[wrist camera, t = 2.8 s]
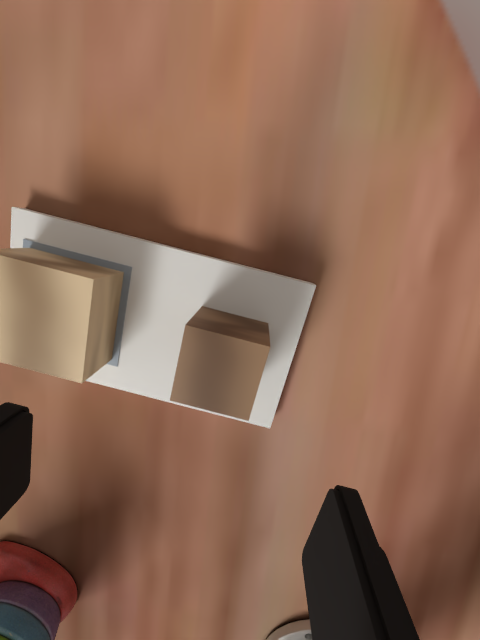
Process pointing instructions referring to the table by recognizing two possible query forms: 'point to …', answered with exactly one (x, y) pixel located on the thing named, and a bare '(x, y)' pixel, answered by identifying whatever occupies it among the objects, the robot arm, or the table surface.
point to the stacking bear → (32, 593)
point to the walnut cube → (221, 362)
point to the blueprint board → (174, 304)
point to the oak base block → (57, 313)
